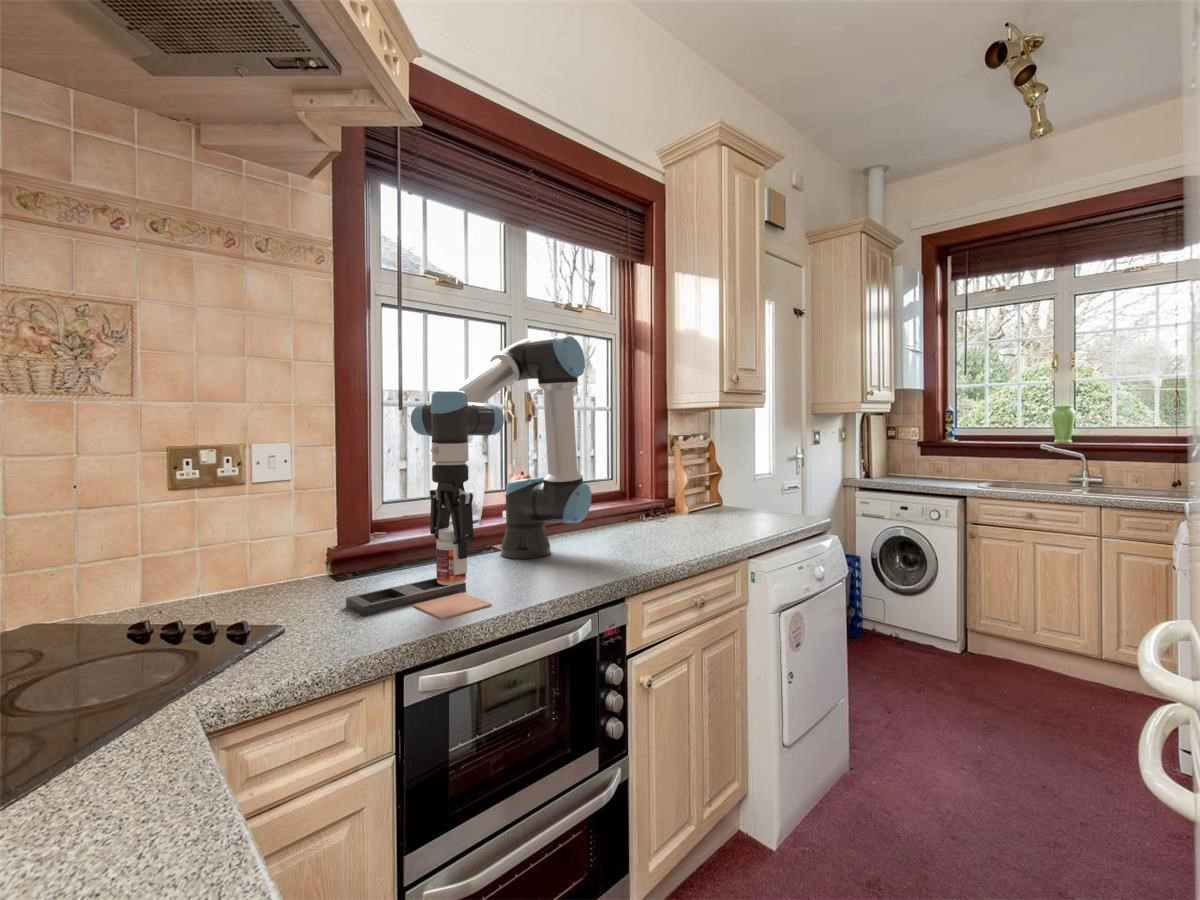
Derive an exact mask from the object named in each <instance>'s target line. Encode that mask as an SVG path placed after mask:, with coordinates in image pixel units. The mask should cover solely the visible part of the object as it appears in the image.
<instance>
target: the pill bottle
mask: <svg viewBox="0 0 1200 900" xmlns="http://www.w3.org/2000/svg"><path fill="white" fill-rule="evenodd" d="M439 539H441V541H439V542H438V543H437V542H436V546H435V547H436V548H435V555H436V556H435V557H436V560H435V563H436V578H437V582H438V583H439V584H442V585H455V584H460V583H463V582H466V580H467V573H463V574H458V575H454V558H453V542H454V541H456V540H455V534H454V529H453V527H448V528H443V529H440V530H439Z"/></svg>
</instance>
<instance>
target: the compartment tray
mask: <svg viewBox="0 0 1200 900" xmlns="http://www.w3.org/2000/svg"><path fill="white" fill-rule="evenodd" d="M466 591H467V583H466V581H464V582H463V583H460V584H455V585H442V584H439V583H438V582H437V577H433V578H428V579H424V580H420V581H414V582H412V583H411V582H410V583H406V584H401V585H398V586H394V587H393V586H392V587H388V588H384V589H379V590H375V591H370V592H366V593H365V592H364V593H362V594H356V595H351V596H348V597H345V607H346V608H347V609H349V610H351V611H353V612H355V613H357V614H358V615H360V616H362V617H368V616H371V615H372V616H373V615H375V614H379V613H384V612H388V611H391V610H395V609H399V608H403V607H407V606H413V605H414V604H418V603H422V602H426V601H430V600H434V599H438V598H442V597H446V596H450V595H454V594H458V593H464V592H466ZM385 599H386V600H385ZM373 602H374V603H373Z"/></svg>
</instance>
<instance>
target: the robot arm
mask: <svg viewBox="0 0 1200 900" xmlns="http://www.w3.org/2000/svg"><path fill="white" fill-rule="evenodd" d="M585 368H586V359H585V354H584V351H583V348H582V346H581V345H580V342H579V341H578V340H577V339H576V338H574V337H573V336H570V335H554V336H546V337H545V336H544V337H535V338H525V339H522V340H520V341H517V342H515V343H513V344H511V345H509V346H508V347H505V348H504V349H503V350H502V349H501V351H499V352H498V353H496V354H495V355H494V356H492V357H491V359H490V362H489V363H488V364H487V365H486V366H484V367H483V368H481V369H480V370H478V371H477V372H475V373H474V374H473V375H471V376H469V377H468V378H466V380H464V381H462V382H461V383H460V384H459V385H457V386H456V387H454V388H452V389H451V390H437V391H434V392H433V393H432V395H431V403H430V404H429V403H424V404H419V405H416V406H415V407H414V408H413V409H412V412H411V414H410V424H411V427H412V429H413V431H414V432H415V433H417V434H418V435H421V436H430V437H431V449H430V452H431V461H432V462H433V463H434V464H433V465H432V466H431V480H432V482H433V483H435V484H436V483H437V488H436V489H430V490H429V498H430V523H429V524H430V526H429V529H430V530H429V532H430V535H434V539H436V544H437V543H438V542H439V541H441V539H439V530H440V529H443V528H449V525H450V519H451V523H452V528H453V529H454V534H455V540H456V541H454V542H453V558H454V575H458V574H463V573H466V574H467V573H468V563H467V562H468V559H467V557H468V543H469V542H471V541H474V536H475V535H474V521H473V520H474V519H473V518H474V517H473V500H474V494H473V493H471V492H468V493H467V491H466V490H465V486H464V484H465V483H466V482H467V481H468V480H469V465H468V464H466V462H468V461H469V436H484V437H485V436H486V437H488V436H494V435H496V434H498V433H499V432H500V431H502V428H503V427H504V423H505V416H504V413H503V410H502V409H501V408H500V407H499V406H498V405H497V404H493V403H489V402H488V400H490V399H491V398H492V397H494V396H495V395H496V394H498V393H499V392H500V391H502V389H504V388H505V387H506V386H507V387H508V386H513V385H515V384H516V383H518V382H519V381H524V380H533V379H534V380H536V381H537V386H538V387H539V388H540V389H541V390H542V392H543V406H544V407H543V409H544V411H543V412H544V423H545V424H544V425H545V428H544V429H545V442H546V458H547V461H546V462H547V473H546V474H545V476H544V477H543V476H540V477H532V478H531V477H530V478H524V479H523V478H522V479H516V480H509V481H508V482H507V483H506V485H505V494H504V496H505V519H506V521H505V523H506V524H505V527H506V528H505V533H504V536H503V539H502V542H501V546H500V556H502V557H505V558H508V559H520V560H521V559H523V560H525V559H535V558H536V559H537V558H542V557H545V556H548V555H549V554H551V544H550V541H549V537H548V534H547V531H546V528H545V522H551V523H564V524H578V523H581V522H582V521H583V520H585V518H586V517H587V515H588V514H589V511H590V510H591V509H590V508H591V505H592V489H591V487H590V486H589V484H587V483H585V482H584V478H583V477H584V476H583V475H582V474H581V472H579V471H578V461H577V459H578V458H577V440H576V439H577V438H576V423H575V422H576V420H575V404H574V403H575V402H574V388H575V387H576V386H577V385H578V384H579V380H578V378H579V377H581V376H582V375H583V374H584V371H585ZM465 491H466V492H465Z"/></svg>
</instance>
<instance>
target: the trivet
mask: <svg viewBox="0 0 1200 900" xmlns="http://www.w3.org/2000/svg"><path fill="white" fill-rule="evenodd" d="M490 605H492V606H493V603H491V602H488V601H487V600H486V601H485V600H483V599H481V598H477V597H475V596H473V595H469V594H468V593H464V592H460V593H456V594H452V595H448V596H444V597H440V598H436V599H432V600H428V601H424V602H420V603H416V604H412V607H413V608H416V609H417V610H420V611H421V612H424V613H426V614H428V615H431V616H432V617H434V618H436V619H439V620H442V621H443V620H445V619H448V618H449V619H450V618H453V617H456V616H460V615H463V614H467V613H472V612H474V611H478V610H480V609H481V608H482V609H484V608H483V607H485V608H488V607H487V606H489V607H491V606H490Z"/></svg>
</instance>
